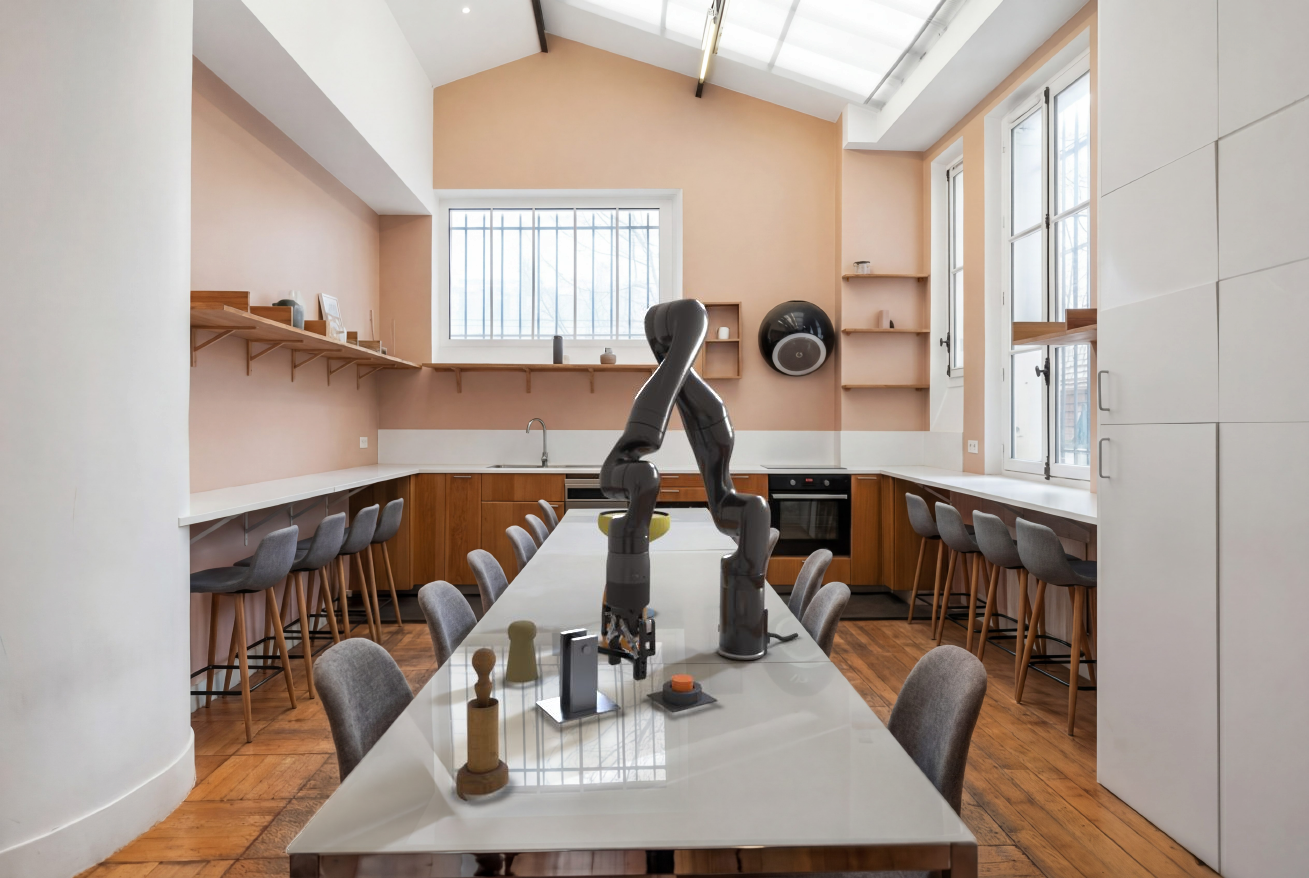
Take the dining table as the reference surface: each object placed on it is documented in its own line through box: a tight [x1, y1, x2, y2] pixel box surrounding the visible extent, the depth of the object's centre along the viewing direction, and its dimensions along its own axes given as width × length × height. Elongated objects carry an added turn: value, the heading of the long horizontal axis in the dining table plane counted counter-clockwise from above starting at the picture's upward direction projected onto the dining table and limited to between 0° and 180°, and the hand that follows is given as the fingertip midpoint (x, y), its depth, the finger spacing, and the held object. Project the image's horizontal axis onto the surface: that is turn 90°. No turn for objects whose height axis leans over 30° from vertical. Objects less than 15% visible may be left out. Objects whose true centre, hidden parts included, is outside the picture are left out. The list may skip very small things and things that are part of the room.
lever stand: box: [535, 628, 622, 724], centre depth 112 cm, size 11×9×13 cm
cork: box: [505, 619, 538, 684], centre depth 125 cm, size 6×6×11 cm
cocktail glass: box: [597, 509, 671, 619], centre depth 171 cm, size 18×18×25 cm
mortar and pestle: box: [455, 647, 510, 802], centre depth 88 cm, size 7×6×18 cm
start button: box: [671, 673, 694, 691], centre depth 116 cm, size 4×4×2 cm
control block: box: [646, 680, 718, 713], centre depth 116 cm, size 9×8×3 cm
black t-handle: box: [567, 635, 634, 665], centre depth 114 cm, size 12×6×2 cm, turn 123°
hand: (626, 671), depth 117 cm, fingers open, 8 cm apart
